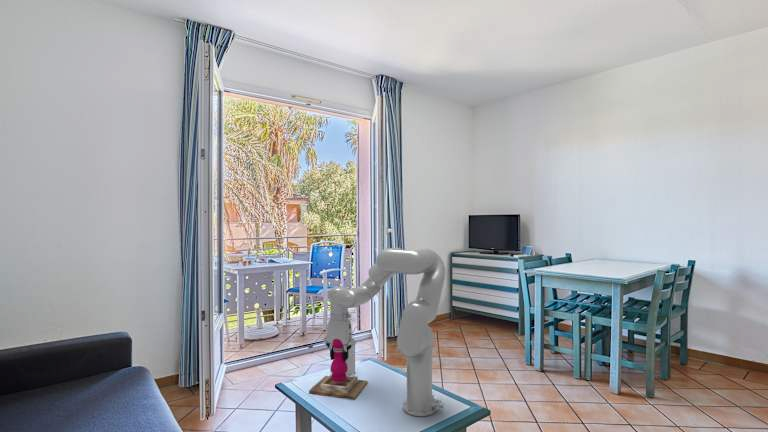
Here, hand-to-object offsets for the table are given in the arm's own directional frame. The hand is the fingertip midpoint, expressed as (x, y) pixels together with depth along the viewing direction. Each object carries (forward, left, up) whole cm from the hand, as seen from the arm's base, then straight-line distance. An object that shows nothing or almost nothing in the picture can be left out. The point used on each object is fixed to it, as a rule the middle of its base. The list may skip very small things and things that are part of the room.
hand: (339, 359), depth 166 cm
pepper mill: (0, 0, -9) cm, 9 cm away
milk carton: (+4, -16, -13) cm, 21 cm away
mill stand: (0, 0, -12) cm, 12 cm away
